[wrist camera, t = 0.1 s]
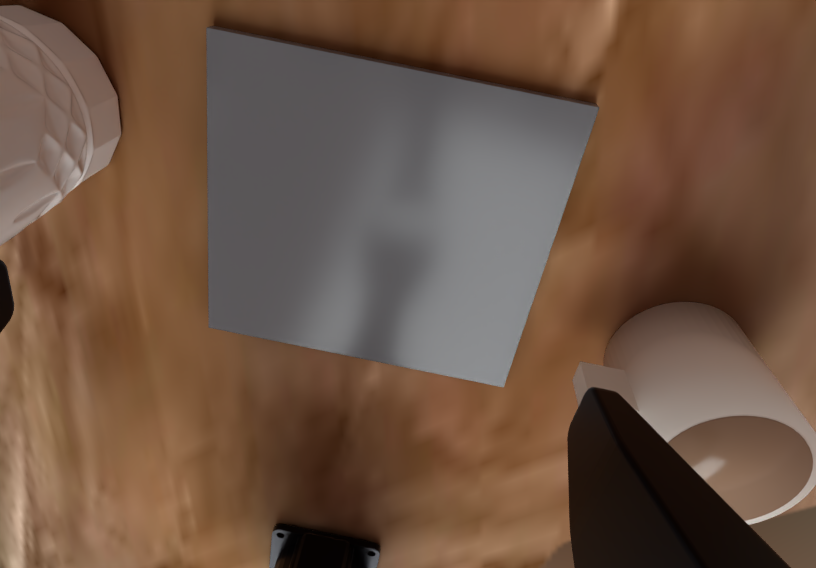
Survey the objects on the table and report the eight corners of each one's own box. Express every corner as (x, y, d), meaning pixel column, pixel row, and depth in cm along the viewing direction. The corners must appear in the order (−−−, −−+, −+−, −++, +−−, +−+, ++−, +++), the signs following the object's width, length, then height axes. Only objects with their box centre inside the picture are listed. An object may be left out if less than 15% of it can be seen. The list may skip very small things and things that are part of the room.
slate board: (503, 379, 27) (503, 387, 26) (213, 320, 27) (208, 327, 26) (595, 103, 20) (599, 107, 20) (213, 25, 20) (206, 27, 20)
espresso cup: (708, 420, 27) (771, 543, 21) (548, 387, 27) (568, 502, 21) (771, 317, 24) (864, 429, 18) (590, 280, 24) (626, 381, 18)
